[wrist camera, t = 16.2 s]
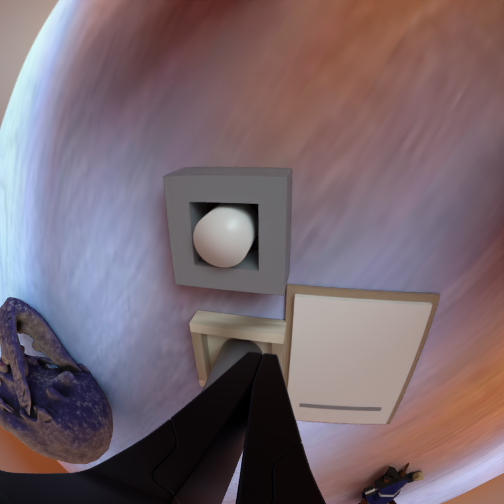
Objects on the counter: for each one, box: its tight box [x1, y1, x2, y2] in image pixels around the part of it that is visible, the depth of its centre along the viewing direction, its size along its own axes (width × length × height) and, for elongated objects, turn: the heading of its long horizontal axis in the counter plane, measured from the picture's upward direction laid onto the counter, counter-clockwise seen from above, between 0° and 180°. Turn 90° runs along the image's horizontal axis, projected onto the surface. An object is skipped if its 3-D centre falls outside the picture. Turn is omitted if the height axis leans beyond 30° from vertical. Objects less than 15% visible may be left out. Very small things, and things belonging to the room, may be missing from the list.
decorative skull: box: [0, 297, 113, 464], centre depth 28 cm, size 12×18×20 cm
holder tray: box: [189, 310, 287, 387], centre depth 24 cm, size 7×7×2 cm
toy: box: [359, 463, 423, 504], centre depth 30 cm, size 9×6×15 cm
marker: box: [202, 338, 263, 391], centre depth 21 cm, size 3×3×7 cm
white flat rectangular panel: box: [283, 284, 440, 424], centre depth 23 cm, size 11×15×1 cm
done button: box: [193, 203, 259, 267], centre depth 19 cm, size 3×3×3 cm
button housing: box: [163, 167, 292, 295], centre depth 19 cm, size 7×7×3 cm
